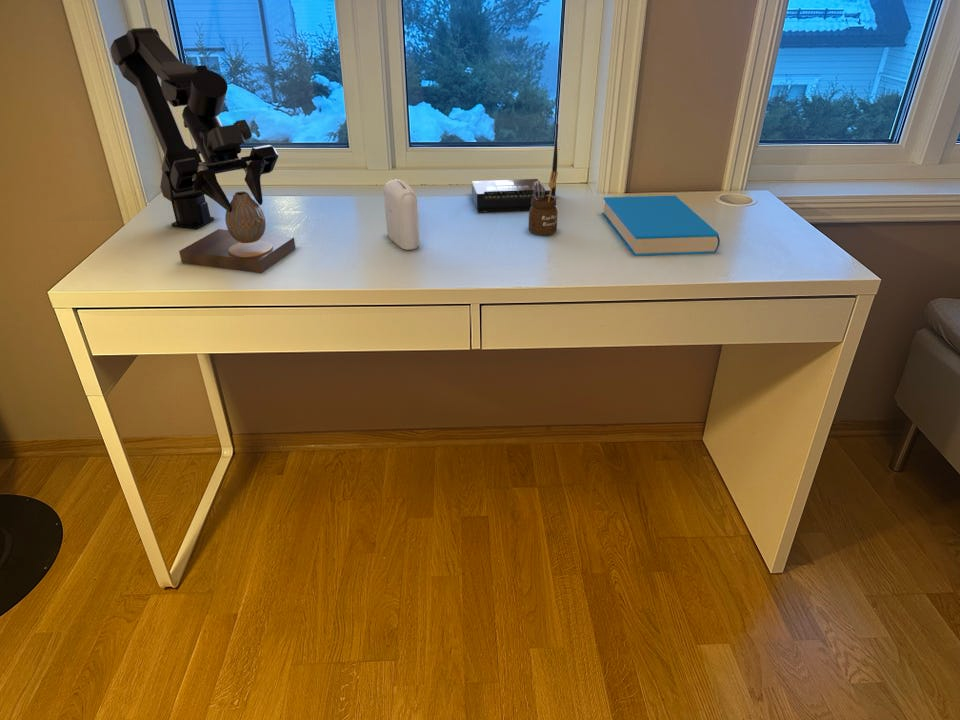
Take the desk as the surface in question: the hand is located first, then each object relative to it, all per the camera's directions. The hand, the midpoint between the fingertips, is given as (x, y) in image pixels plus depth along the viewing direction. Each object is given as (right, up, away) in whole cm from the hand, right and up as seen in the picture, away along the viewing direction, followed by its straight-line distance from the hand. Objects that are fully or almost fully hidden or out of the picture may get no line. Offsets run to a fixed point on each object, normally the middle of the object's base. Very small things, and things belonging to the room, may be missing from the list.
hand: (246, 207), depth 122 cm
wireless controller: (+51, +10, +38) cm, 64 cm away
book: (+79, -1, +20) cm, 82 cm away
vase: (-1, -5, +4) cm, 7 cm away
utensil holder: (+55, -1, +21) cm, 59 cm away
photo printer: (+27, -4, +15) cm, 31 cm away
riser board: (-4, -7, +9) cm, 12 cm away
